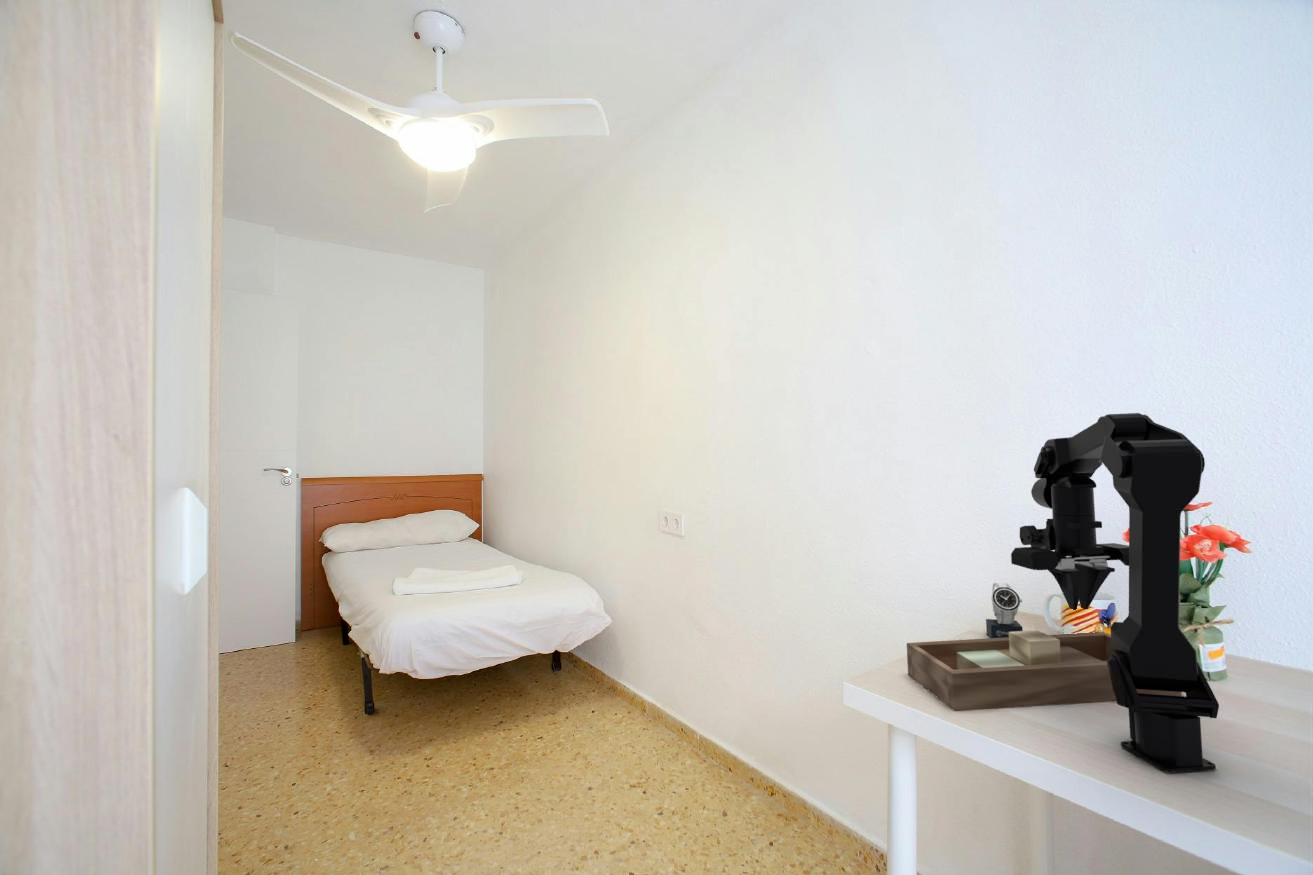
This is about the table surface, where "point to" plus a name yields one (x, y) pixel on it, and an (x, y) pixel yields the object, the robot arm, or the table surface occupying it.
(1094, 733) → the table surface
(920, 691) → the table surface
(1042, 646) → the maple block
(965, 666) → the tray
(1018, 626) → the watch
